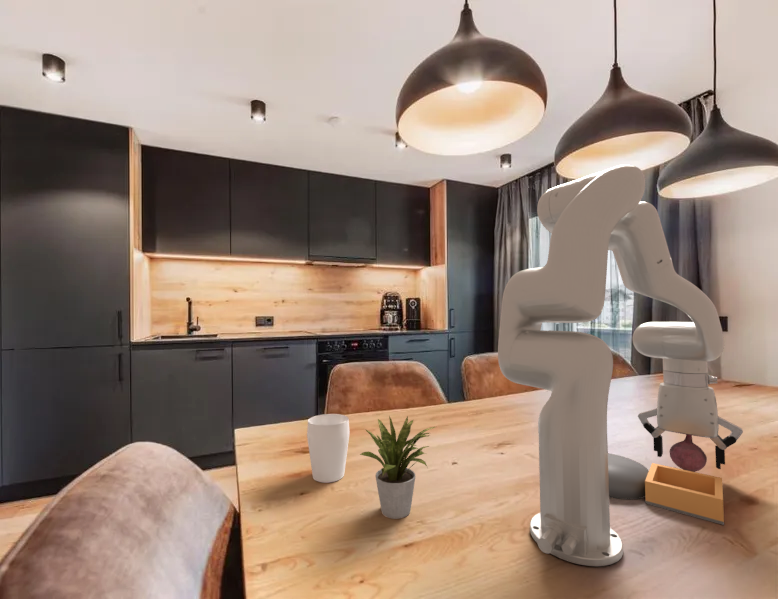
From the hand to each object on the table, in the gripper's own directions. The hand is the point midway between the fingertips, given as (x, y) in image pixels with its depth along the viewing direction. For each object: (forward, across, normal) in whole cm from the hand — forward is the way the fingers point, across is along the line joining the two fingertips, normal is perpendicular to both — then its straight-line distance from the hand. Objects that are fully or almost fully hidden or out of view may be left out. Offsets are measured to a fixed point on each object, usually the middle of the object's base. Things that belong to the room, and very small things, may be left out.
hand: (688, 460), depth 79 cm
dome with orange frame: (+3, +7, +15) cm, 17 cm away
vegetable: (+3, 0, 0) cm, 3 cm away
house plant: (+3, +37, +52) cm, 64 cm away
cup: (+3, +58, +50) cm, 77 cm away
